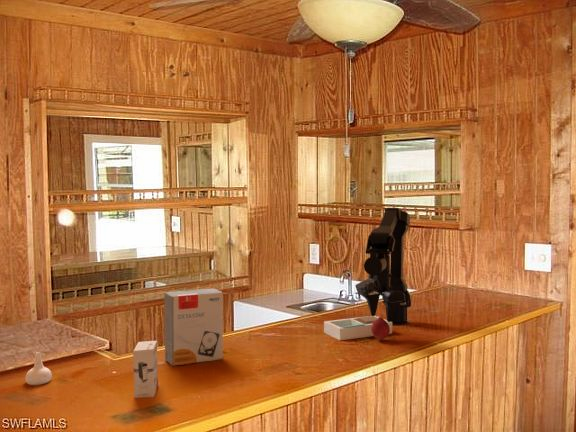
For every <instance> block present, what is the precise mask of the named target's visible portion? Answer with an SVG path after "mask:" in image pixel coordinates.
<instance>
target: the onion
mask: <svg viewBox="0 0 576 432" xmlns="http://www.w3.org/2000/svg"><path fill="white" fill-rule="evenodd" d="M377 317H378V319H377V320H376V321H375V322H374V323H373V324H372V327H371V331H372V334H373V335H374V336H373V337H375V338H376V339H377V340H378V341H379V342H380V341H381V342H382V341H383V340H384V339H386V338H387V337H388V336H389V335H390V334H389V332H390V327H389V325H388V323H387V322H386V321H385V320H386V319H385V318H383V317H382V316H381V315H378V316H377ZM384 319H385V320H384Z"/></svg>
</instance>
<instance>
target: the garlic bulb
mask: <svg viewBox="0 0 576 432" xmlns="http://www.w3.org/2000/svg"><path fill="white" fill-rule="evenodd" d="M51 379H52V371H51V370H50V369H49V368H48V367H46V366H44V363H43V361H42V355H41V352H40V351H37V352H35V360H34V366H33V367H32V368H31V369H29V370H28V371H27V373H26V375H25V382H26V384H28V385H30V386H40V385H45V384H46V383H47V384H48V383H49V382H50V381H51Z"/></svg>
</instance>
